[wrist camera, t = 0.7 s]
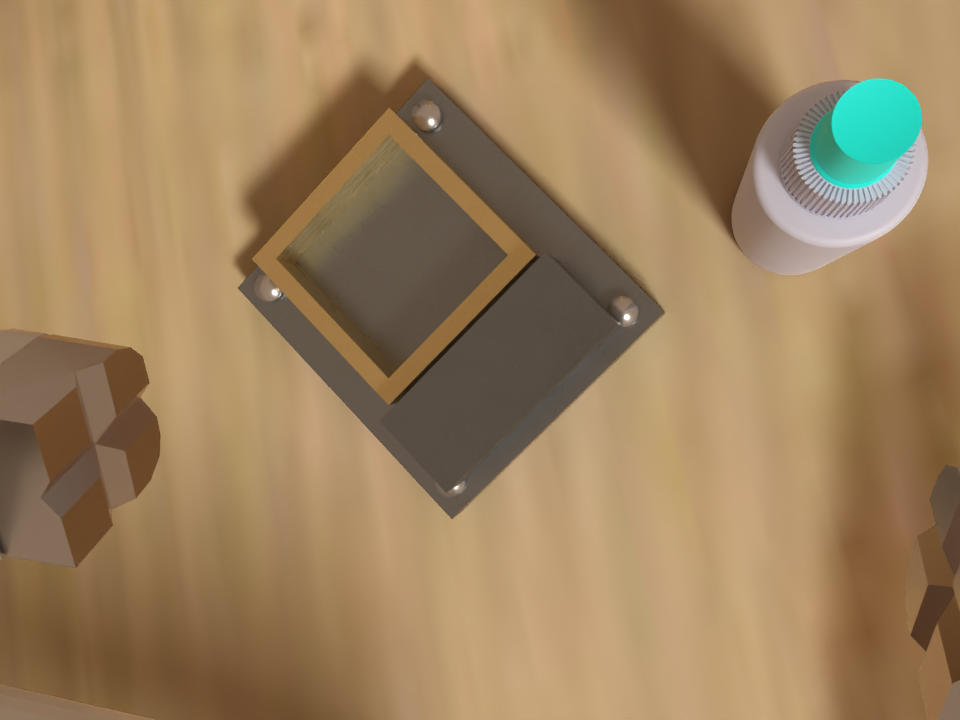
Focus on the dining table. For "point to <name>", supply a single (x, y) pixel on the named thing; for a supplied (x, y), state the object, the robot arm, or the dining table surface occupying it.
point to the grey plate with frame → (445, 297)
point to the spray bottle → (830, 174)
